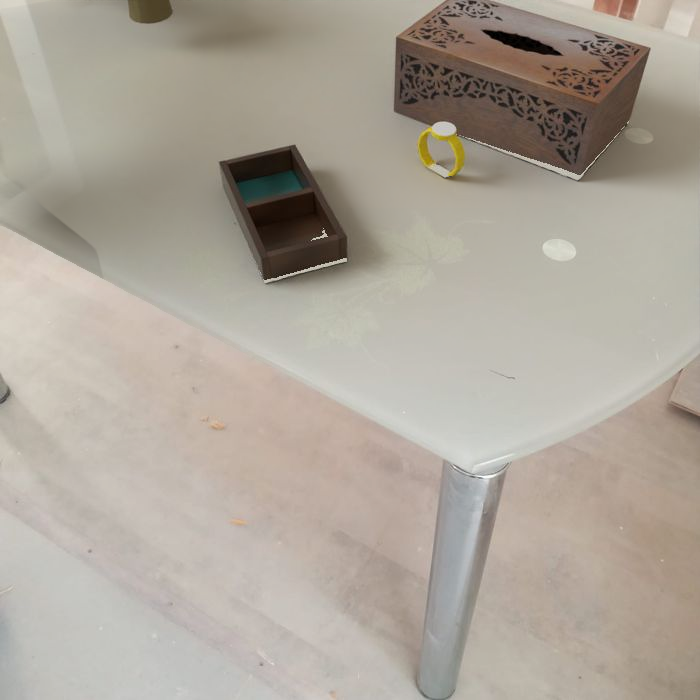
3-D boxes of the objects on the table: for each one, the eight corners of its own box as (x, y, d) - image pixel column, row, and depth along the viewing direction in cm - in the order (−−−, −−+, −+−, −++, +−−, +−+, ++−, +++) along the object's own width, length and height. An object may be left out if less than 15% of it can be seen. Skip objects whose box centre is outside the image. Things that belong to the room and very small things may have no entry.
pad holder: (264, 284, 79) (260, 259, 77) (223, 186, 90) (218, 161, 87) (347, 262, 81) (346, 236, 79) (297, 169, 92) (295, 144, 89)
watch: (412, 166, 92) (414, 122, 87) (427, 156, 93) (430, 112, 89) (451, 187, 89) (456, 143, 85) (466, 176, 90) (471, 132, 86)
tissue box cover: (628, 123, 97) (650, 47, 89) (578, 181, 89) (598, 104, 82) (452, 63, 107) (458, -9, 99) (393, 111, 99) (396, 36, 92)
